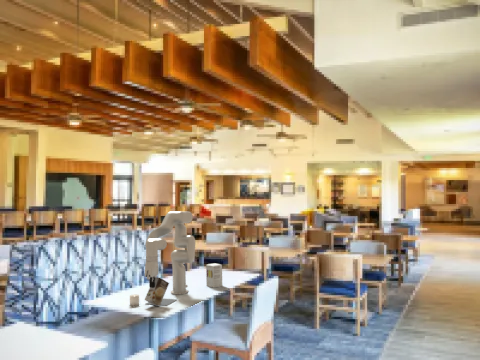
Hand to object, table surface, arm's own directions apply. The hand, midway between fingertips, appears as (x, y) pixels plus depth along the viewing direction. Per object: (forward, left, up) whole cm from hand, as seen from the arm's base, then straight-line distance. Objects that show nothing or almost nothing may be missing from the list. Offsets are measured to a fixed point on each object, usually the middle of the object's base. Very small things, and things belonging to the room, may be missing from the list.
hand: (152, 287), depth 267 cm
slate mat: (-12, 0, -13) cm, 17 cm away
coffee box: (+1, 0, -10) cm, 10 cm away
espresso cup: (-2, -15, -13) cm, 20 cm away
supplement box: (-64, +17, -13) cm, 68 cm away
